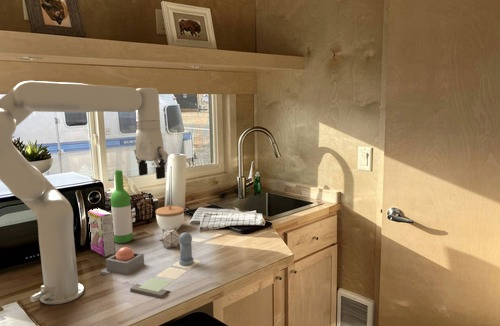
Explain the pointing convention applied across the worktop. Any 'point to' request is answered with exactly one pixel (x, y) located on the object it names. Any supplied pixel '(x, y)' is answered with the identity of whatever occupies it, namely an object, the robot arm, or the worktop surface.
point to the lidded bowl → (170, 217)
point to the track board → (161, 281)
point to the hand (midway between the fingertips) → (152, 176)
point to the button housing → (123, 264)
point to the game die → (170, 238)
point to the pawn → (185, 249)
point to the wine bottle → (121, 211)
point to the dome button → (124, 254)
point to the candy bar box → (101, 232)
